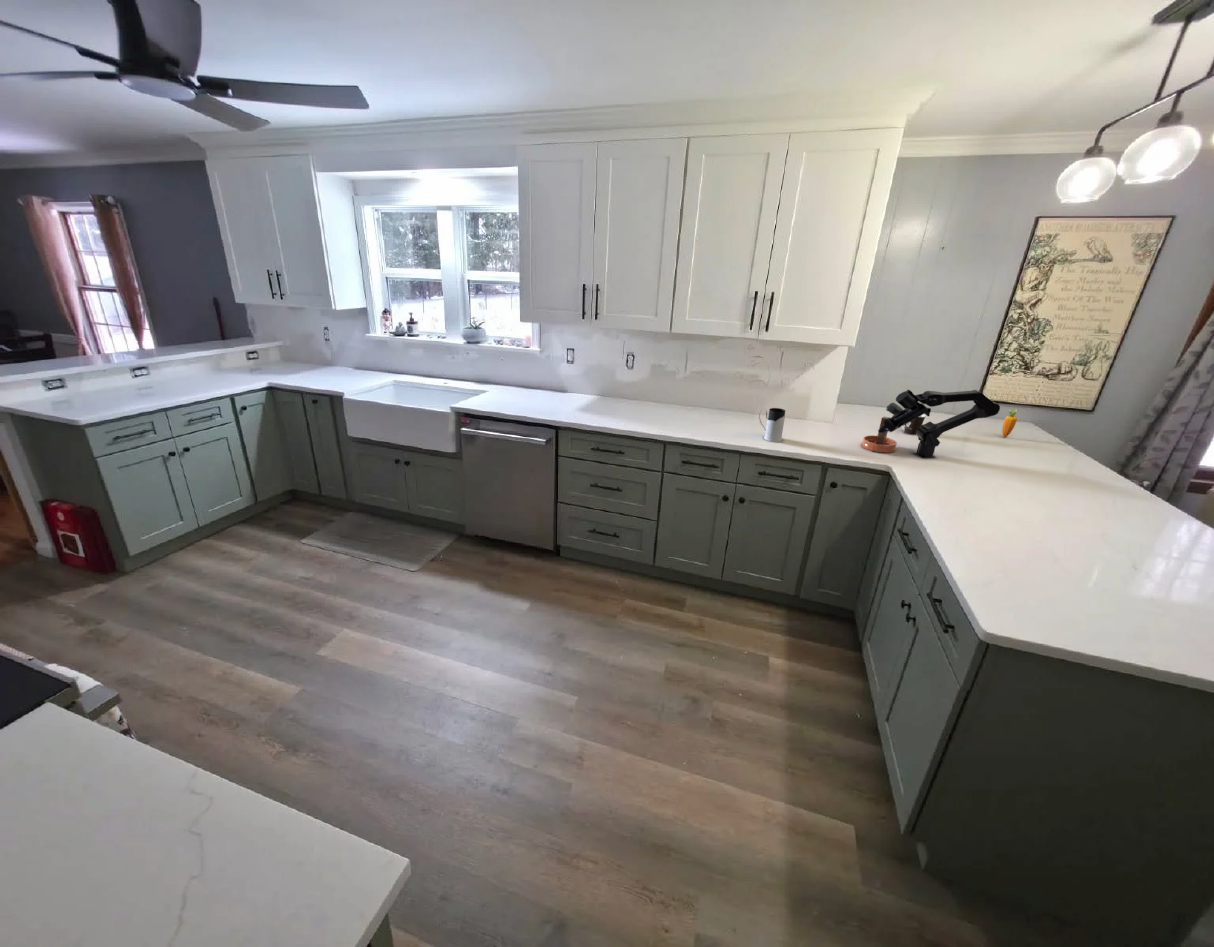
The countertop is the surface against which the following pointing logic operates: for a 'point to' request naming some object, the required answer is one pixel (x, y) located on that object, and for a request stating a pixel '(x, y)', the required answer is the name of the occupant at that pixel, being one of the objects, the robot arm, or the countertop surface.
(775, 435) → the white pitcher
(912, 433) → the coffee mug
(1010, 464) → the countertop surface
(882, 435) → the brown wooden block
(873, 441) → the bowl
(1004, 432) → the carrot
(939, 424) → the robot arm
